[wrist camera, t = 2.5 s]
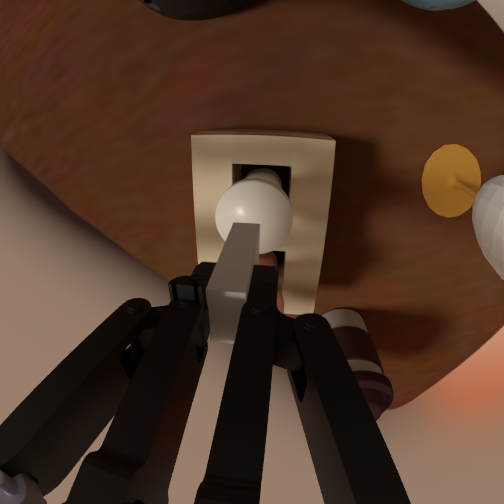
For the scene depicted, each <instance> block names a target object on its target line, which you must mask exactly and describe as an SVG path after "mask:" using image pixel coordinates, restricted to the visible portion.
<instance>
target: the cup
mask: <svg viewBox="0 0 504 504" xmlns="http://www.w3.org/2000/svg"><path fill="white" fill-rule="evenodd" d="M480 186H481V170H480V167H479V165H478V162H477V159H476V157H475V156H474V155H473V154H472V153H471V152H470V150H469V149H467V148H465V147H463V146H461V145H458V144H449V145H444V146H442V147H441V148H439V149H438V150H436V151H434V152H433V154H432V155H431V157H430V158H429V160H428V161H427V163H426V164H425V168H424V172H423V175H422V191H423V196H424V198H425V200H426V202H427V205H428V206H429V207H430V208H431V209H432V210H433V211H434V212H435V213H436V214H437V215H440V216H444V217H447V218H450V217H455V216H460V215H461V214H463V213H464V212H465V211H467V210H468V209H470V207H471V206H472V204H473V203H474V205H473V210H472V222H473V226H474V230H475V234H476V237H477V241H478V244H479V246H480V248H481V250H482V252H483V254H484V256H485V258H486V259H487V260H488V262H489V263H490V264H491V266H492V267H493V268H494V270H495V271H496V272H497V273H498V274H499V276H500V277H501V278H502V279H503V280H504V175H500V176H497V177H493V178H491V179H490V180H489V181H487V182H486V183H485V184H483V186H482V187H481V189H480ZM474 201H475V202H474Z"/></svg>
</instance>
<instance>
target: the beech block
mask: <svg viewBox="0 0 504 504" xmlns="http://www.w3.org/2000/svg"><path fill="white" fill-rule="evenodd" d="M191 141H192V170H193V192H194V210H195V226H196V240H197V253H198V264H200V263H201V262H216V263H217V261H218V258H219V256H220V253H221V251H222V249H223V246H224V244H225V241H224V239H223V238H222V237H221V235H220V233H219V232H218V229H217V226H216V221H215V213H216V208H217V205H218V203H219V201H220V199H221V197H222V196H223V194H224V193H225V192H226V190H227V189H228V188H229V187H230V186H232V185H233V184H234V183H236V182H238V181H240V180H242V164H258V165H278V166H290V175H289V192H288V198H289V200H290V202H291V206H292V214H293V224H292V229H291V232H290V234H289V236H288V238H287V239H286V241H285V242H284V243H283V244H282V245H281V246H279V247H278V248H277V249H275V250H273V251H284V262H283V265H282V264H277V270H278V272H279V275H278V290H279V291H280V293H281V294H282V296H283V299H284V314H300V315H301V314H305V313H313V311H314V306H315V300H316V294H317V289H318V283H319V277H320V270H321V264H322V257H323V250H324V244H325V236H326V229H327V221H328V213H329V205H330V196H331V187H332V177H333V167H334V156H335V144H336V141H335V140H334V139H333V138H331V137H330V136H328V135H327V134H322V133H311V132H298V131H283V130H261V129H208V130H205V131H202V132H199V133H196V134H193V135H191Z"/></svg>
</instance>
